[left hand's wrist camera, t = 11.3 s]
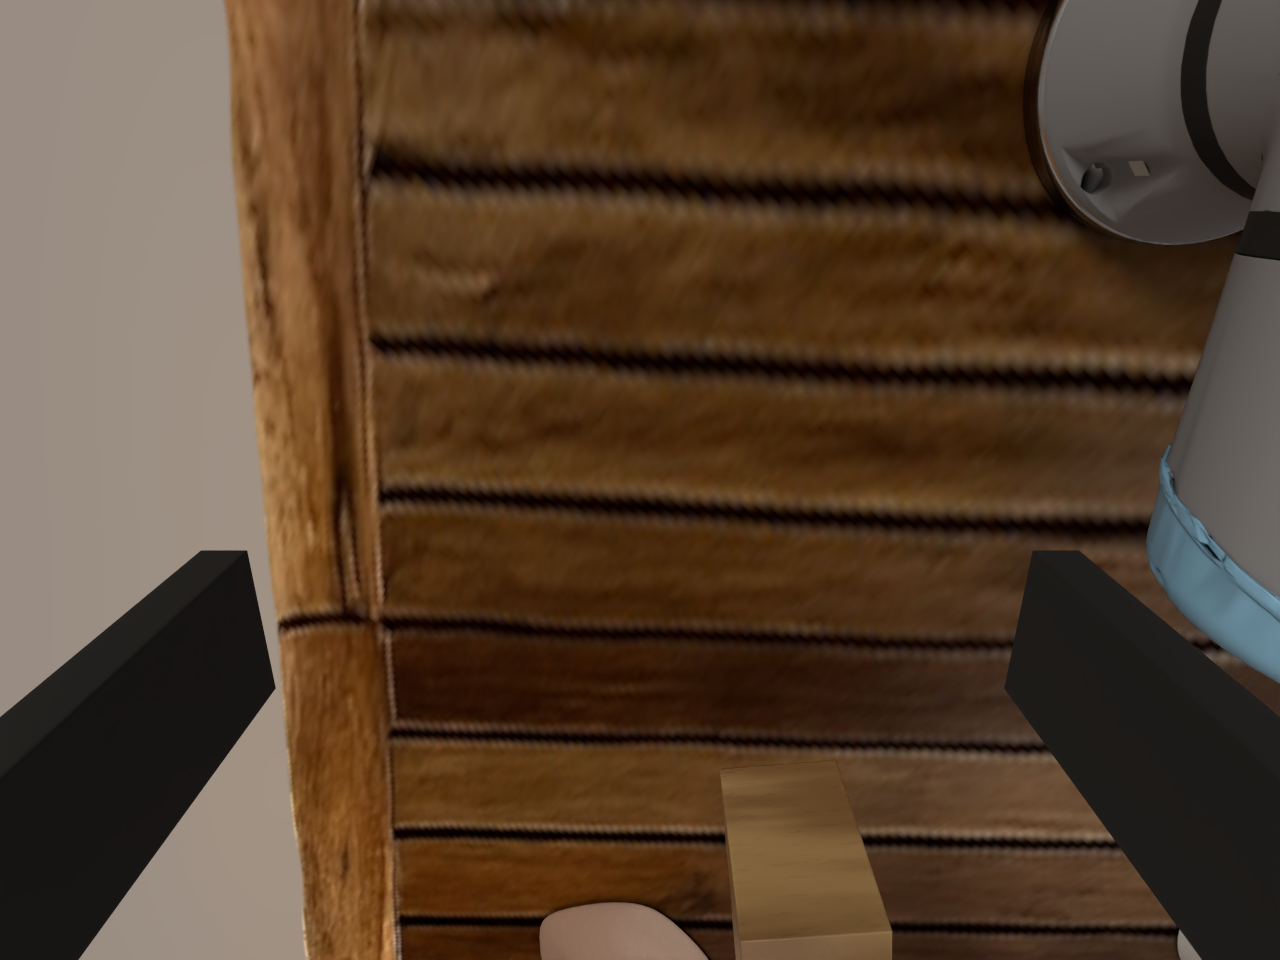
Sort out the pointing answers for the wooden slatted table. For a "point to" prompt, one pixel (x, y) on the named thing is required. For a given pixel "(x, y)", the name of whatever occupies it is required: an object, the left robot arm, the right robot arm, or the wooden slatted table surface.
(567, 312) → the wooden slatted table surface
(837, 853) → the bar
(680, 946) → the anatomical model
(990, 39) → the wooden slatted table surface
